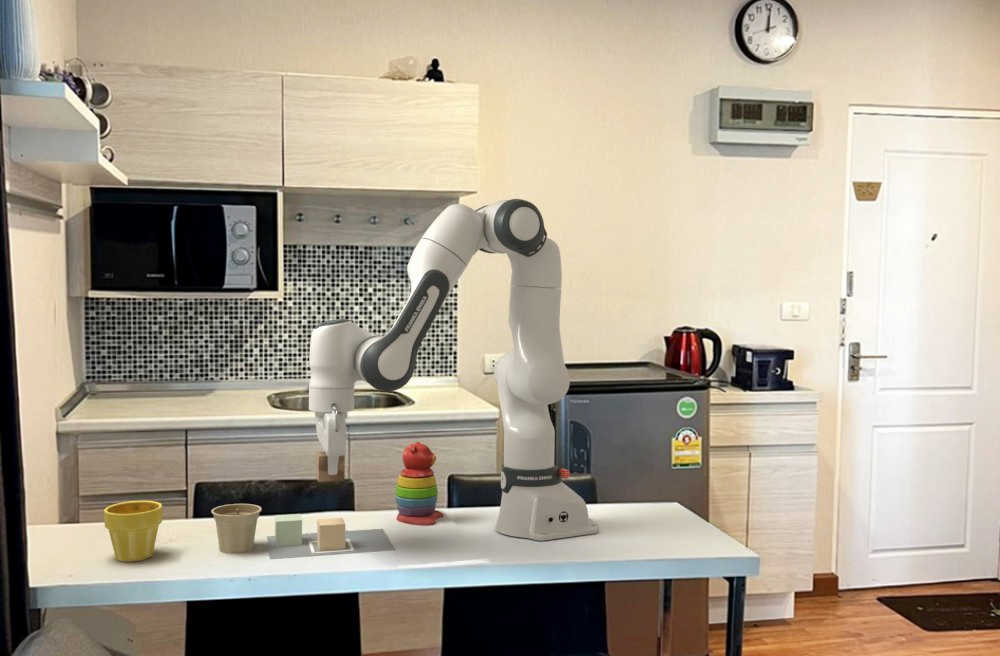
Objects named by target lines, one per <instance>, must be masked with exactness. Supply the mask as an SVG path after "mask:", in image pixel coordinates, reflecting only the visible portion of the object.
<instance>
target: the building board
mask: <svg viewBox="0 0 1000 656" xmlns="http://www.w3.org/2000/svg"><path fill="white" fill-rule="evenodd" d="M316 523H317V524H316V529H317V530H316V532H312V533H311V532H310V533H302V545H293V546H278V547H276V542H275V535H268V536H266V539H267V546H268V554H269V555H268V556H269V560H279V559H293V558H307V557H320V556H334V555H347V554H361V553H363V554H364V553H376V552H389V551H390V552H391V551H396V548H395V546H394V545H393V543H392V542H391V540H390V538H389V537H388V535H387V533H386V532H385V530H384V528H374V529H373V528H372V529H358V530H357V529H356V530H346V523H345V520H344V518H343V517H332V518H330V517H329V518H317V521H316Z"/></svg>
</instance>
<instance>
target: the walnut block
mask: <svg viewBox="0 0 1000 656" xmlns="http://www.w3.org/2000/svg"><path fill="white" fill-rule="evenodd" d="M345 460H346V454H345V455H344V456H339V461H338V471H337V474H336V475H329V474H328V457H327V454H326V452H323V451H316V462H315V463H316V464H315V465H316V472H315V473H316V474H315V477H316V479H317V482H318V483H325V482H328V483H329V482H345V477H346V476H345V475H346V474H345V469H346V468H345V467H346V466H345V463H346V461H345Z"/></svg>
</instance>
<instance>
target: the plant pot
mask: <svg viewBox="0 0 1000 656" xmlns="http://www.w3.org/2000/svg"><path fill="white" fill-rule="evenodd" d="M103 518H104V519H103V521H104V527H105V529H106V530H108V533H109V536H110V541H111V545H112V548H113V553H114V556H115V560H117V561H118V562H122V563H123V562H127V563H130V562H132V563H133V562H139V561H144V560H148V559H150V558H151V557H152V556H153V555H154V552H155V551H154V550H155V546H156V545H155V544H156V542H157V535H158V529H159V526H160V524H162V523H163V504H162V503H161V502H159V501H158V502H157V501H152V500H133V501H132V500H131V501H123V502H118V503H115V504H111V505H109V506H107V507H106V508H104V510H103Z"/></svg>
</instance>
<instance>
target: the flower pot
mask: <svg viewBox="0 0 1000 656" xmlns="http://www.w3.org/2000/svg"><path fill="white" fill-rule="evenodd" d="M262 510H263V509H262V507H261V506H259V505H256V504H251V503H233V504H224V505H219V506H216V507H214V508H213V509H211V514H212V515H213V519H214V521H215V525H216V534H217V541H218V542H217V543H218V549H219V552H221V553H223V554H230V555H232V554H235V555H237V554H244V553H247V552H250V551H252V550H253V549H254V544H255V536H256V529H257V524H258V519H259V517H260V513H261V512H262Z"/></svg>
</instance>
